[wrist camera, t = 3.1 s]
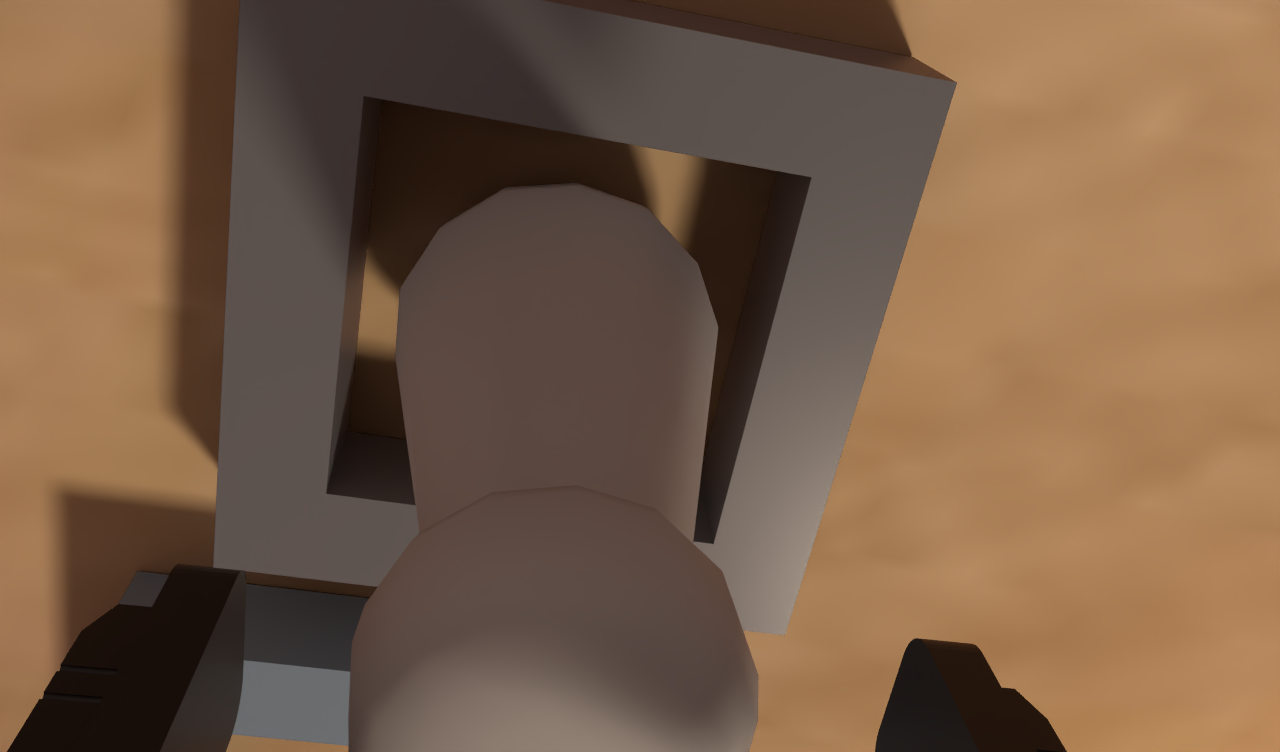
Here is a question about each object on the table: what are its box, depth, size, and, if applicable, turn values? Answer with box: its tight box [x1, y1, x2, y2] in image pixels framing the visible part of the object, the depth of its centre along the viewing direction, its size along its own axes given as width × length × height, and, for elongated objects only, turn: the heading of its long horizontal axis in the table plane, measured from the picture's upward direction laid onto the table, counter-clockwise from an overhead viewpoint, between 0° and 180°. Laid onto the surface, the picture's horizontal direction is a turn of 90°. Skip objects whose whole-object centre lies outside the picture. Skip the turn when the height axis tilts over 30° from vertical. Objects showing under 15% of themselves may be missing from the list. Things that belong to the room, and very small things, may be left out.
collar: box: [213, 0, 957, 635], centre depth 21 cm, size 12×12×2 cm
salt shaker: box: [348, 183, 758, 752], centre depth 17 cm, size 6×6×13 cm
